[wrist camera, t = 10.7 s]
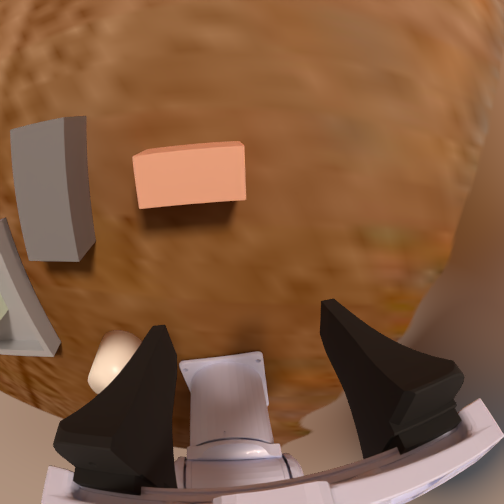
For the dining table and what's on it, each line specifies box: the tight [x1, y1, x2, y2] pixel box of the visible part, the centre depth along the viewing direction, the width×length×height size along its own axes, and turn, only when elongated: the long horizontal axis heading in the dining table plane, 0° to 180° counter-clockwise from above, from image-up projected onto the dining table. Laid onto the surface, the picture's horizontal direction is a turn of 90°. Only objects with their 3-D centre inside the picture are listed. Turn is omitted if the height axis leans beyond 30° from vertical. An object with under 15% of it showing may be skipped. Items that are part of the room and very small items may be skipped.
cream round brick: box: [88, 330, 142, 394], centre depth 23 cm, size 5×5×5 cm
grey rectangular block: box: [10, 116, 96, 262], centre depth 16 cm, size 5×9×4 cm, turn 177°
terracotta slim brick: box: [132, 141, 246, 209], centre depth 17 cm, size 3×6×4 cm, turn 91°
